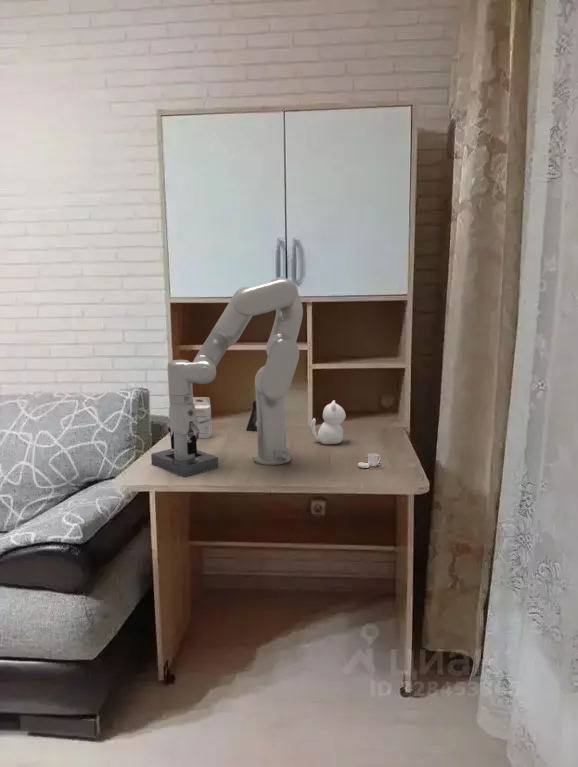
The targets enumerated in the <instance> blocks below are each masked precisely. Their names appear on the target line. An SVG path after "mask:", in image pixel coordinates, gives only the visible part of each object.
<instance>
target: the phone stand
mask: <svg viewBox="0 0 578 767" xmlns="http://www.w3.org/2000/svg"><path fill="white" fill-rule="evenodd" d="M250 413H251V414H250V417H249V420H248V424H247V426H246V432H257V407H256V399H255V400H254V401H253V403H252V411H251V412H250Z"/></svg>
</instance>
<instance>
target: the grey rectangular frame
mask: <svg viewBox="0 0 578 767" xmlns="http://www.w3.org/2000/svg"><path fill="white" fill-rule="evenodd" d="M150 454H151V455H150V457H151V458H150V459H151V465H153V466H156V467H158V468H160V469H162V470H165V471H168V472H171V473H174V474H175V475H178V476H181V477H183V478H187V477H191V476H194V475H197V474H201V473H205V472H207V470H208V471H211V469H212V470H215V469H218V468H219V457H218V456H216V455H213V454H209V453H208V452H206V451H205V452H204V451H202V450H198V449H197V453H195V458H192V459H188V460H184V461H181V462H180V461H178V460H175V459H174V449H172V448H169V449H165V450H161V451H157V452H153V453H150ZM217 467H218V468H217ZM204 471H205V472H204ZM200 472H201V473H200Z"/></svg>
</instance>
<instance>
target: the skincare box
mask: <svg viewBox="0 0 578 767" xmlns="http://www.w3.org/2000/svg"><path fill="white" fill-rule="evenodd" d="M190 432H191V431H190ZM190 432H188V433H190ZM189 436H190V438H191V437H192V435H189ZM187 442H188V440H187V437H186V435H182V434H179V433H178V431H174V459H175V460H178V461H180V462H181V461H184V460H188V459H192V458H195V453H194V454H191V455H189V454H188V450H187Z"/></svg>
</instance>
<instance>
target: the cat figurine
mask: <svg viewBox="0 0 578 767" xmlns="http://www.w3.org/2000/svg"><path fill="white" fill-rule="evenodd" d="M346 417H347V416H346V411H345V410H344V408H343V407H342V406H341V405H339V404H338V403H336V400H332V401H331V402H330V403H328V404H326V406H325V407H324V408H323V412H322V419H323V421H324V422H323V423H322V424H321V426H320V427H319V428H318V433H317V432H316V428H315V427H316V417H315V418H314V417H313V419H312V420H311V422H310V431H311V434H312V437H313V439H314V440H316V441H318V442H320V443H321V444H323V445H337V444H340V443H342V442H343V439H344V430H343V426H342V425H341V424H342V423H343V422H344V421H345V419H346Z"/></svg>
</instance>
